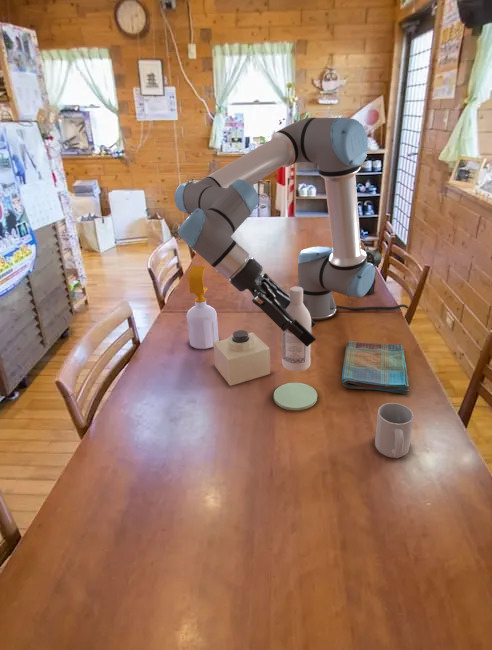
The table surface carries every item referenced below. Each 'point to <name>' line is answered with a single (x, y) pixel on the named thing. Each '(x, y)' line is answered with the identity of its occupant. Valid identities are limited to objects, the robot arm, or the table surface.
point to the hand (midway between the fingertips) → (311, 334)
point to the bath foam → (293, 349)
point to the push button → (240, 336)
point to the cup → (393, 429)
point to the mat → (295, 396)
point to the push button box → (242, 359)
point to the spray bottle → (201, 313)
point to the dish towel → (375, 367)
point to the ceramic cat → (374, 259)
